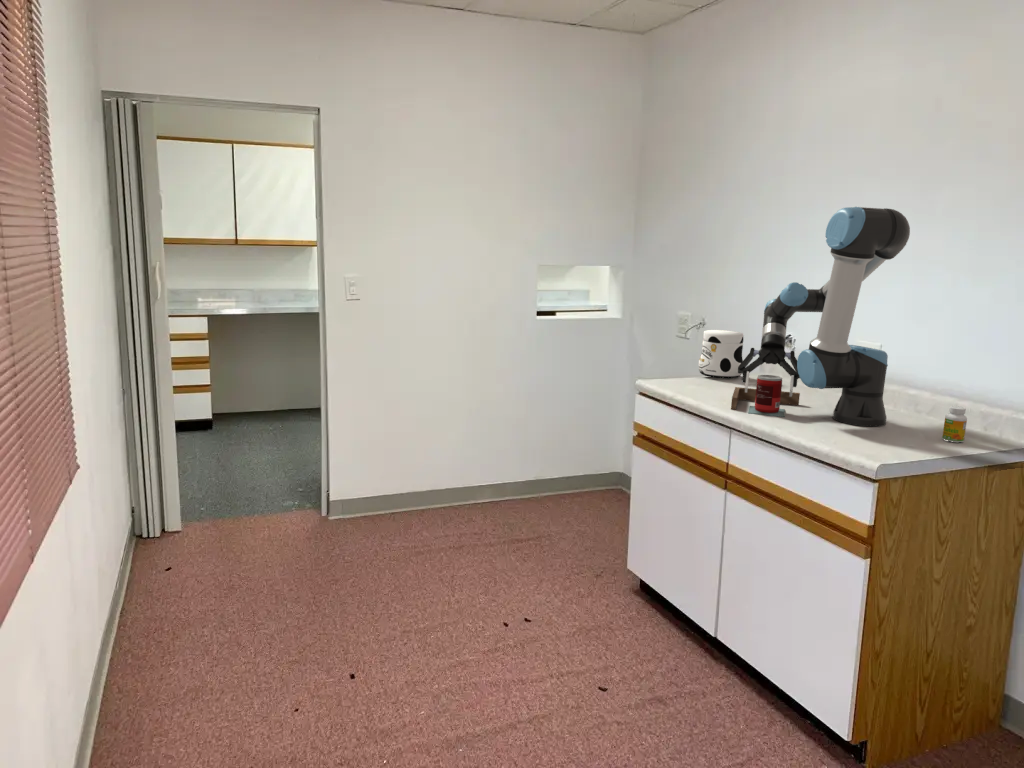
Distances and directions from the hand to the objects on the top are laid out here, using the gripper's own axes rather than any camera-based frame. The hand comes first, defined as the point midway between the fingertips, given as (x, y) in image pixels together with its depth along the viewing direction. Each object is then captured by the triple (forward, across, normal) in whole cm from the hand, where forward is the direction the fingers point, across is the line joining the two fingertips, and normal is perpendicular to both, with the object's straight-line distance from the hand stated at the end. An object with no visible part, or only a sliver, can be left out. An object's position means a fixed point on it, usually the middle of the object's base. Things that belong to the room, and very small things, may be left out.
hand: (768, 392), depth 243 cm
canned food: (+3, 0, -6) cm, 7 cm away
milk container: (-38, +19, -47) cm, 63 cm away
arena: (-1, 0, -10) cm, 10 cm away
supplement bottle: (+14, -51, +4) cm, 53 cm away
